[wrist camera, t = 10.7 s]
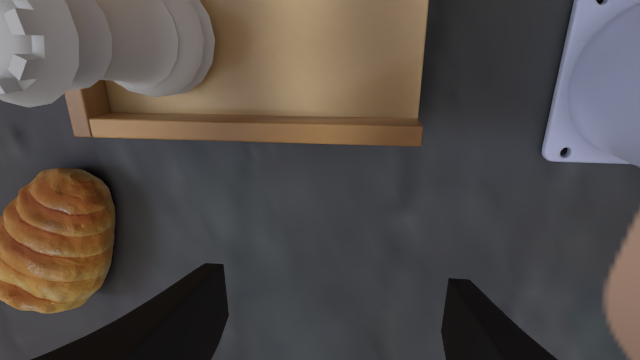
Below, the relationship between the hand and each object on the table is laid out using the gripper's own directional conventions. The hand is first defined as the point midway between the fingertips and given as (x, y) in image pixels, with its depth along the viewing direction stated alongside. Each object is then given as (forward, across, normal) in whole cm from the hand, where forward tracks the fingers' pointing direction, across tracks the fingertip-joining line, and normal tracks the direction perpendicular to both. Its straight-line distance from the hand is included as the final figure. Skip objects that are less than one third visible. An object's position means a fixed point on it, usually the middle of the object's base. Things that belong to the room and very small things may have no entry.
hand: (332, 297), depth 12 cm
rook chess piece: (+6, +7, -8) cm, 12 cm away
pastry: (+10, +18, +4) cm, 21 cm away
